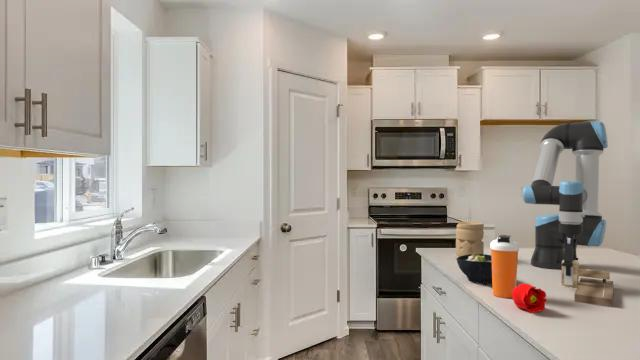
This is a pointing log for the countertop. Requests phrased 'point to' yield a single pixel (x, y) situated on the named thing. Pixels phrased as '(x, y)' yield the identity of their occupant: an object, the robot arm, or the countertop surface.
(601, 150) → the robot arm
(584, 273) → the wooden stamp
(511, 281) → the shaker bottle
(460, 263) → the bowl
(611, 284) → the plank
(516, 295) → the flower
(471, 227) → the container
